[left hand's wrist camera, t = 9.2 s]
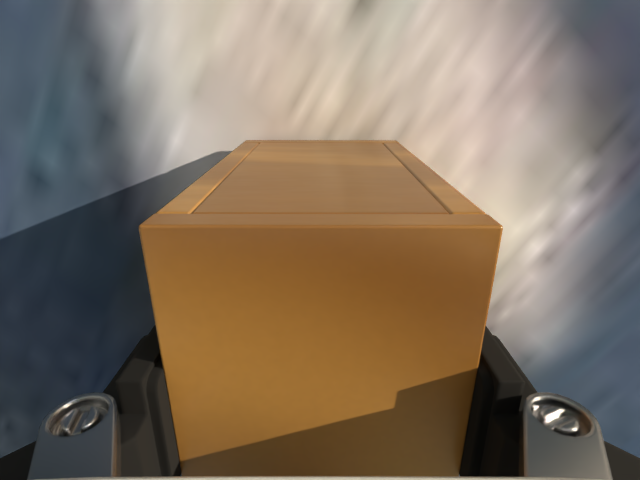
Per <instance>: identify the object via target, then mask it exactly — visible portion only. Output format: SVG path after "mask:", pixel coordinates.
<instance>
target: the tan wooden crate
mask: <svg viewBox="0 0 640 480" xmlns="http://www.w3.org/2000/svg"><path fill="white" fill-rule="evenodd" d="M502 230H503V228H502V225H500V224H499V223H498V222H497V221H495V220H494V219H493V218H492V217H490V216H489V215H487V214H485V213H484V212H483V211H482V210H481V209H480V208H478V207H477V206H476V205H475V204H473V203H472V202H471V201H470V200H468V199H467V198H466V197H465V196H464V195H462V194H461V193H460V192H459V191H457V190H456V189H455V188H454V187H453V186H451V185H450V184H449V183H448V182H446V181H445V180H444V179H443V178H441V177H440V176H439V175H438V174H437V173H435V172H434V171H433V170H432V169H430V168H429V167H428V166H427V165H425V164H424V163H423V162H422V161H421V160H419V159H418V158H417V157H416V156H414V155H413V154H412V153H411V152H410V151H408V150H407V149H406V148H405V147H403V146H402V145H401V144H399V142H397V141H381V140H246V141H245V142H243V143H242V144H241V145H240V146H238V147H237V148H236V149H235V150H233V151H232V152H231V153H230V154H228V155H227V156H226V157H225V158H223V159H222V160H221V161H220V162H218V163H217V164H216V165H215V166H214V167H212V168H211V169H210V170H209V171H207V172H206V173H205V174H204V175H202V176H201V177H200V178H199V179H197V180H196V181H195V182H194V183H192V184H191V185H190V186H189V187H187V188H186V189H185V190H184V191H182V192H181V193H180V194H179V195H177V196H176V197H175V198H174V199H172V200H171V201H170V202H169V203H167V204H166V205H165V206H164V207H162V208H161V209H160V210H159V211H157V212H156V214H153V215H151V216H150V217H149V218H148V219H146V220H145V221H144V222H143V223H141V224H140V225H139V233H140V239H141V244H142V250H143V256H144V262H145V267H146V273H147V279H148V285H149V290H150V296H151V302H152V308H153V313H154V319H155V325H156V331H157V336H158V342H159V348H160V354H161V359H162V365H163V370H164V375H165V381H166V387H167V392H168V398H169V404H170V410H171V415H172V421H173V427H174V433H175V438H176V444H177V450H178V456H179V461H180V467H181V474H182V477H190V476H450V477H459V472H460V466H461V460H462V455H463V449H464V443H465V438H466V432H467V426H468V420H469V415H470V409H471V403H472V398H473V392H474V386H475V381H476V375H477V369H478V365H479V360H480V354H481V348H482V343H483V337H484V331H485V326H486V320H487V314H488V309H489V303H490V298H491V292H492V286H493V281H494V275H495V269H496V264H497V258H498V252H499V247H500V241H501V235H502Z"/></svg>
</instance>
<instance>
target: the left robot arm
mask: <svg viewBox="0 0 640 480" xmlns="http://www.w3.org/2000/svg"><path fill="white" fill-rule="evenodd" d="M459 474H460V477H450V476H190V477H180V475H181V467H180V461H179V456H178V450H177V444H176V438H175V433H174V427H173V421H172V415H171V410H170V404H169V398H168V392H167V387H166V381H165V375H164V370H163V365H162V359H161V354H160V348H159V342H158V336H157V331H156V325H155V326H154V327H153V329H152V330H151V332H150V333H149V334H148V335H146V336H144V337H143V338H142V339H141V340H140V342H139V343H138V344H137V346H136V347H135V349H134V350H133V351H132V353H131V354H130V356H129V357H128V358H127V360H126V361H125V363H124V364H123V365H122V367H121V368H120V369H119V371H118V372H117V374H116V375H115V376H114V378H113V379H112V381H111V382H110V383H109V385H108V386H107V388H106V389H105V390H104V392H103V393H95V392H93V393H87V394H82V395H79V396H76V397H73V398H70V399H68V400H67V401H65V402H63V403H61V404H59V405H58V406H57V407H55V408H54V409H53V410H51V411H50V412H49V413H48V414H47V416H46V417H45V418H44V419H43V421H42V423H41V425H40V428H39V432H38V437H37V441H35V442H33V443H31V444H29V445H27V446H25V447H23V448H21V449H19V450H17V451H15V452H12V453H10V454H8V455H6V456H4V457H2V458H0V480H640V458H638V457H636V456H634V455H632V454H630V453H628V452H626V451H624V450H622V449H620V448H618V447H616V446H613V445H611V444H609V443H607V442H605V441H603V437H602V433H601V428H600V425H599V423H598V421H597V419H596V418H595V417H594V416H593V414H592V413H591V412H590V411H589V410H587V409H586V408H585V407H583V406H582V405H581V404H579V403H577V402H575V401H573V400H572V399H570V398H567V397H564V396H561V395H558V394H553V393H547V392H545V393H537V391H536V390H535V388H534V387H533V386H532V384H531V383H530V381H529V380H528V379H527V377H526V376H525V374H524V373H523V372H522V370H521V369H520V368H519V366H518V365H517V363H516V362H515V361H514V359H513V358H512V356H511V355H510V354H509V352H508V351H507V349H506V348H505V347H504V345H503V344H502V342H501V341H500V340H499V339H498V338H497V337H496V336H494V335H492V334H491V332H490V331H489V330H488V328H487V327H486V326H485V331H484V337H483V343H482V348H481V354H480V360H479V365H478V369H477V375H476V381H475V386H474V392H473V398H472V403H471V409H470V415H469V420H468V426H467V432H466V438H465V443H464V449H463V455H462V460H461V466H460V472H459Z"/></svg>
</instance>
